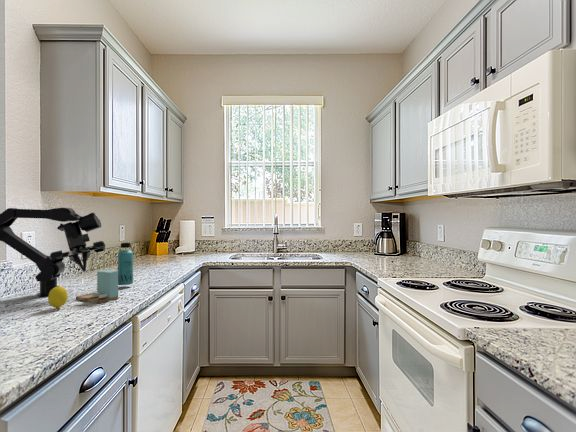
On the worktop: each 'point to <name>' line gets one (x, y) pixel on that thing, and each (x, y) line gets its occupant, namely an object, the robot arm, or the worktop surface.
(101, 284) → the block
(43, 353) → the worktop surface
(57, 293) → the lemon
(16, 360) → the worktop surface
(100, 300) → the board
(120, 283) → the beverage bottle
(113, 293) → the fixed leg
